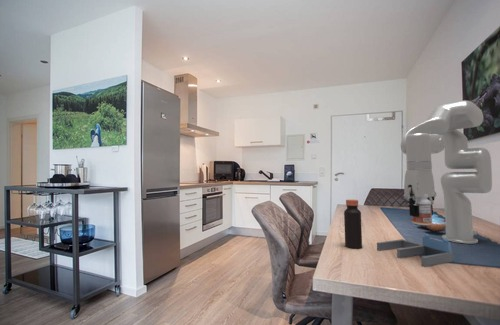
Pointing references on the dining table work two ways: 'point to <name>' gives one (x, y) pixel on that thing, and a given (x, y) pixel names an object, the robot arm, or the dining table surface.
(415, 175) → the robot arm
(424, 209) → the pill bottle
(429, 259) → the grey blue bar frame
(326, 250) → the dining table surface
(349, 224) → the vinegar
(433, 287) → the dining table surface
